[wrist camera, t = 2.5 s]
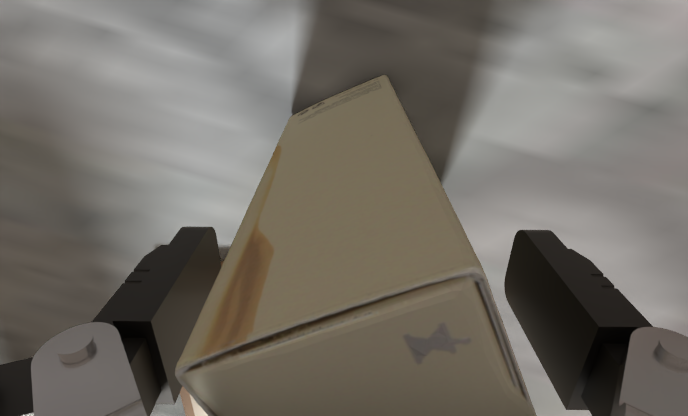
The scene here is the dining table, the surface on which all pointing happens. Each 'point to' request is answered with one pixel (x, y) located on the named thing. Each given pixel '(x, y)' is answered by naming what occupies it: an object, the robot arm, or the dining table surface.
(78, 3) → the dining table surface
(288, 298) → the skincare box
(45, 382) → the robot arm
